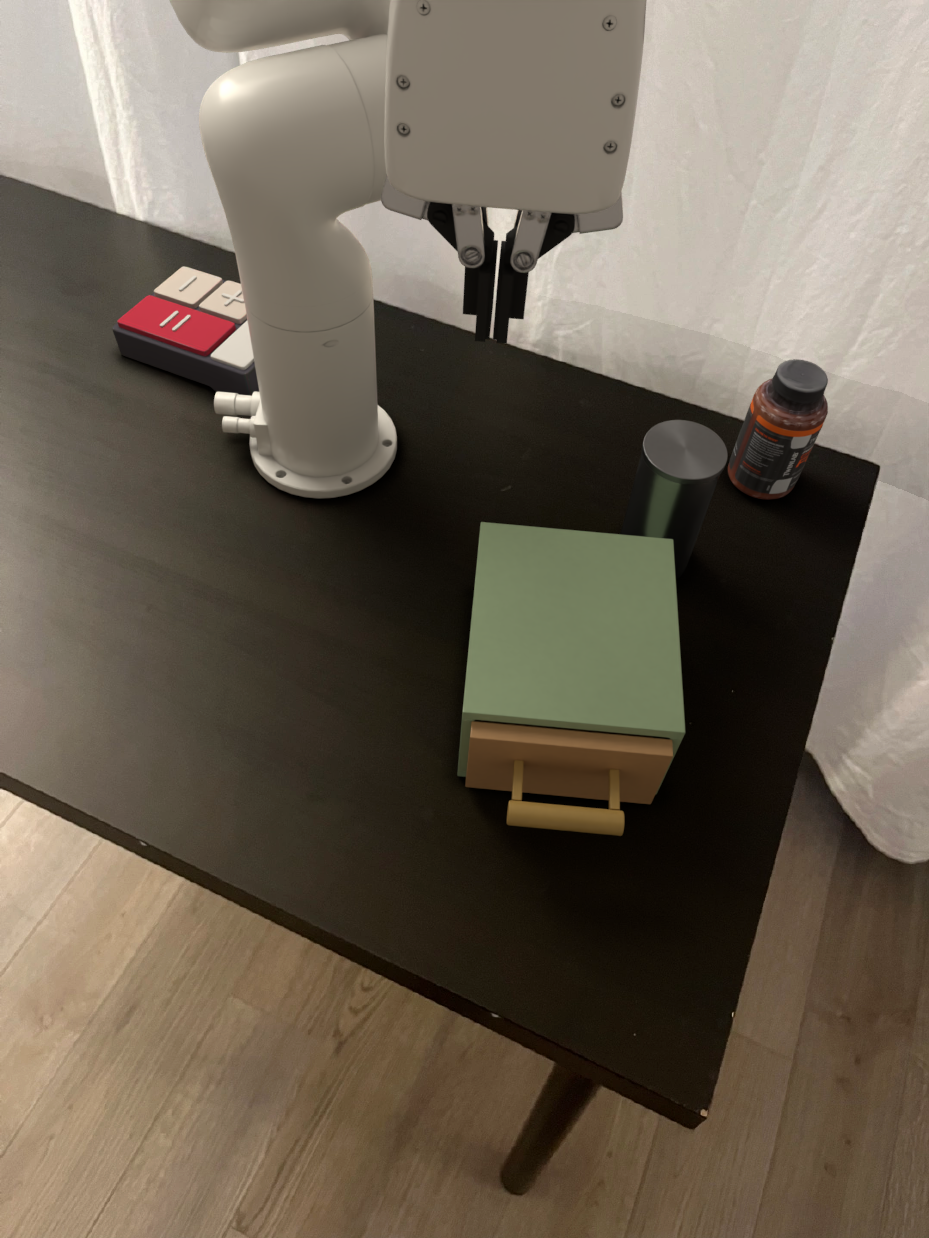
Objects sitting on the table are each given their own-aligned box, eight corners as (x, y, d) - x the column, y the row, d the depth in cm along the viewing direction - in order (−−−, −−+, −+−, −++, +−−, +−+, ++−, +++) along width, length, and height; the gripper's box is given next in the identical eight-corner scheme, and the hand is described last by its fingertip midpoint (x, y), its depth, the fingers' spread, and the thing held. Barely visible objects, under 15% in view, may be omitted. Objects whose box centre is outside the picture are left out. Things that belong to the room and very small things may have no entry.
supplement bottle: (794, 509, 81) (842, 406, 72) (724, 496, 82) (763, 393, 73) (794, 460, 85) (840, 357, 76) (727, 449, 85) (764, 344, 76)
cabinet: (656, 795, 65) (685, 732, 58) (457, 776, 65) (462, 712, 58) (648, 611, 74) (673, 538, 67) (474, 595, 74) (480, 521, 67)
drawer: (653, 865, 61) (677, 821, 55) (459, 847, 61) (464, 801, 56) (644, 628, 72) (663, 571, 66) (480, 613, 72) (486, 555, 67)
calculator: (181, 259, 92) (313, 300, 88) (191, 298, 96) (319, 340, 91) (106, 321, 86) (244, 368, 82) (120, 360, 90) (253, 407, 85)
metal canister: (614, 582, 76) (644, 474, 66) (614, 526, 79) (642, 416, 69) (690, 589, 76) (731, 482, 66) (686, 532, 79) (724, 423, 69)
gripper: (736, -140, 35) (640, 293, 50) (330, -173, 35) (354, 268, 50) (756, -61, 31) (644, 388, 45) (291, -100, 31) (331, 360, 46)
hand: (492, 324), depth 48 cm, fingers closed
